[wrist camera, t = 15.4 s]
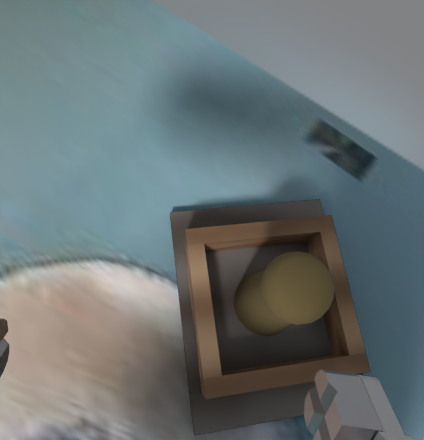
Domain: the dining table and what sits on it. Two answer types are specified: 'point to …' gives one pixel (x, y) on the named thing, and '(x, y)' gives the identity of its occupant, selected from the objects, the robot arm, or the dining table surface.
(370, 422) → the robot arm
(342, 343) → the collar
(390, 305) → the dining table surface
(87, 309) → the dining table surface
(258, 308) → the cork
